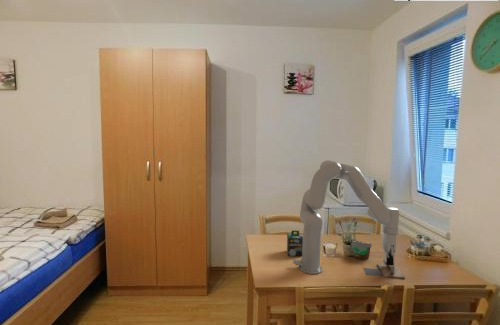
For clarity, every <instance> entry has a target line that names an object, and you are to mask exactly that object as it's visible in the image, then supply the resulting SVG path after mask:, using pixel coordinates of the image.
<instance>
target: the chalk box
mask: <svg viewBox="0 0 500 325" xmlns="http://www.w3.org/2000/svg"><path fill="white" fill-rule="evenodd" d="M302 244H303V233H301V232H300V230H291V232H289V233H287V234H286V253H287V257H300V258H302Z"/></svg>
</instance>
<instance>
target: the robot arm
mask: <svg viewBox="0 0 500 325" xmlns="http://www.w3.org/2000/svg"><path fill="white" fill-rule="evenodd" d="M335 178H336V179H339V180H345V181H346V182H347V183H348V185H349V187H350V188H351V189H352V191H353V192H354V194H355V196H356V197H357V198H358V199H359V200H360V201H361V202H362V203H363V204H364V205H366V206H367V208H368V209H367V216H368V217H369V218H370V219H371V220H373V221H374V222H377V223H378V224H380V225H382V242H381V247H382V249H383V251H384V250H385V252H388V257H387V265H393V259H394V260H395V258H394V253H396V251H397V235H398V234H399V222H400V221H399V220H400V209H399V208H398V207H392V206H386V204H385V203H384V202H383V201H382V199H381V198H380V197H379V196H378V195H377V193H376V192H375V191H374V190H373V188H371V186H370V184H369V183H368V181H367V180H366V178H365V176H364V175H363V173H362V171H361V170H360V169H359V167H357V166H354V165H351V164H350V165H349V164H344V163H340V162H337V161H334V160H333V161H332V160H324V161H323V162H321V163H320V166H319V169H318V170H316V172H315V173H314V175H313V177H312V179H311V184H310V187H309V189H307V190H306V191H305V192H304V194H303V195H302V196H303V197H302V200H301V206H300V211H299V219H300V220H301V222H302V223H303V231H302V236H303V244H302V257H300V259H299V260H297V259H292V260H293V265H294V264H295V266H298V270H300V272H302V273H305V274H309V275H317V274H321V273H322V272H323V271H324V270H323V267H322V266H321V245H322V244H321V243H322V241H321V240H322V231H323V223H324V222H323V217H322V216H321V215H320V214H319V212H318V210H321V209H322V208H323V207H324V205H325V200H326V195H327V189H328V186H329V183H330V182H331V181H332V180H333V179H335ZM389 251H391V252H389ZM389 253H391V254H390V255H389Z"/></svg>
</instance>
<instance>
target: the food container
mask: <svg viewBox="0 0 500 325" xmlns="http://www.w3.org/2000/svg"><path fill="white" fill-rule="evenodd" d="M351 240H352V239H351ZM353 240H354V239H353ZM353 240H352V243H351V242H350V244H351V247H352V248H353V249H352V248H351V249H352V252H351V253H352V257H353V258H354V259H357V260H361V261H362V260H363V261H364V260H369V258H370V252H371V248H372V246H373V245H372V243H366V242H364V241H361V240H360V241H359V240H355V241H353Z"/></svg>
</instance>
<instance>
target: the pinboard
mask: <svg viewBox="0 0 500 325" xmlns="http://www.w3.org/2000/svg"><path fill="white" fill-rule="evenodd" d="M376 267H377V269H379V270H380V271H381V273H382V275H383V276H382V277H384V278H387V279H388V278H389V279H391V278H392V279H401V280H405V279H406V277H405V275H404V274H403V273H402V272H401V270H400V268H399V267H398V266H397V265H396V264H394V266H393V265H385V264H384V263H376Z"/></svg>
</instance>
